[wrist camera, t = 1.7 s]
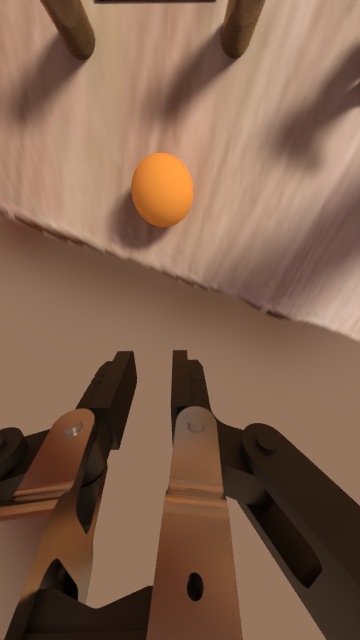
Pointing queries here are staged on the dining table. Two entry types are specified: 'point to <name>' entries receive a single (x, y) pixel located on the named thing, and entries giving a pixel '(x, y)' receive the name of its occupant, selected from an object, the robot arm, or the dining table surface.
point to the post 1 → (72, 25)
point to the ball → (162, 189)
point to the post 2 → (239, 25)
